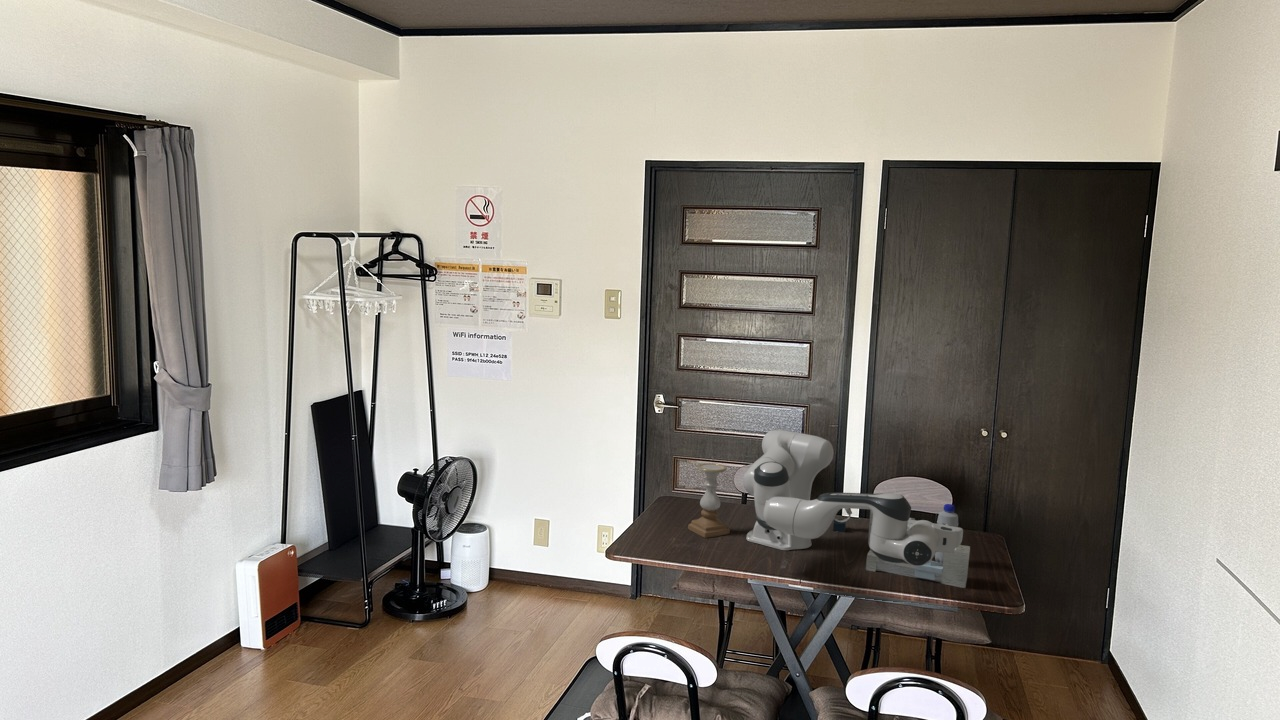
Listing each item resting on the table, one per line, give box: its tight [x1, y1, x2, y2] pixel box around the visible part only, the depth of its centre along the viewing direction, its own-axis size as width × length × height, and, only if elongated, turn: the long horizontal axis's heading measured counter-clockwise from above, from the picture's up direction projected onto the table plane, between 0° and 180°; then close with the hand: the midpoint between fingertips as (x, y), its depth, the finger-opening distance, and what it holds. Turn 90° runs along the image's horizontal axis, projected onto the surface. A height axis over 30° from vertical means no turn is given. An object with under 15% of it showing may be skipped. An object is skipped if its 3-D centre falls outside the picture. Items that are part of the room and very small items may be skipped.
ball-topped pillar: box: [913, 559, 943, 581], centre depth 267 cm, size 8×6×17 cm
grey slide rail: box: [865, 544, 971, 589], centre depth 270 cm, size 30×8×11 cm, turn 65°
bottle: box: [934, 503, 959, 563], centre depth 282 cm, size 7×7×20 cm
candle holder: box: [687, 462, 730, 539], centre depth 303 cm, size 11×11×24 cm
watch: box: [832, 508, 853, 533], centre depth 312 cm, size 6×8×11 cm
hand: (928, 523), depth 255 cm, fingers open, 8 cm apart
